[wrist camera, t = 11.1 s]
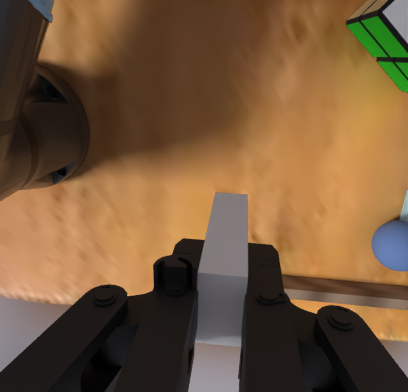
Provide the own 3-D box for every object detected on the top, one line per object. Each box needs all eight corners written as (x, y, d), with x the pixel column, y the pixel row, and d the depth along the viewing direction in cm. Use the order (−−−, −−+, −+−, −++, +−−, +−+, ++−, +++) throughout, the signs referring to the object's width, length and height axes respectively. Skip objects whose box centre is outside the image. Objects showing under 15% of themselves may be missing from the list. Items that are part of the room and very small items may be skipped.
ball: (417, 256, 44) (366, 242, 46) (436, 218, 41) (381, 205, 43) (420, 289, 40) (364, 271, 42) (441, 249, 37) (379, 232, 38)
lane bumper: (242, 280, 49) (242, 294, 47) (254, 151, 42) (254, 158, 39) (491, 303, 46) (507, 319, 44) (549, 169, 39) (572, 177, 36)
